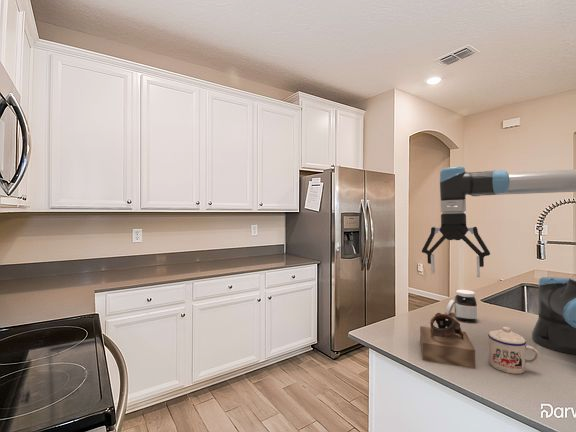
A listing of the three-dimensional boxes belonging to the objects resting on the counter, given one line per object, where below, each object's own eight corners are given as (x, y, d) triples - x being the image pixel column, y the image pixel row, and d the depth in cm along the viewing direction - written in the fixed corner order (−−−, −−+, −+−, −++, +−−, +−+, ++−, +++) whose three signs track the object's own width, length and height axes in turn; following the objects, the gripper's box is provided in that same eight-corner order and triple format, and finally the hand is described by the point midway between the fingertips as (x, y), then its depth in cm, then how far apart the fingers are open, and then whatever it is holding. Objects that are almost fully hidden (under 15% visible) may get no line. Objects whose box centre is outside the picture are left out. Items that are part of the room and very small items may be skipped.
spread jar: (479, 324, 120) (479, 295, 120) (448, 321, 124) (448, 293, 124) (470, 314, 132) (471, 288, 132) (442, 311, 135) (442, 286, 135)
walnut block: (465, 349, 100) (465, 331, 100) (475, 370, 87) (475, 350, 87) (420, 343, 105) (420, 326, 105) (422, 361, 92) (422, 342, 92)
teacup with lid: (488, 369, 86) (489, 329, 86) (486, 356, 94) (487, 319, 94) (542, 381, 80) (542, 338, 80) (535, 366, 88) (535, 327, 87)
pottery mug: (472, 344, 91) (464, 324, 89) (443, 356, 92) (434, 336, 90) (451, 320, 103) (443, 302, 101) (426, 331, 104) (417, 313, 102)
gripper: (412, 214, 105) (413, 273, 105) (498, 211, 91) (500, 280, 91) (416, 213, 111) (417, 269, 111) (497, 211, 97) (499, 275, 97)
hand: (454, 274), depth 101 cm, fingers open, 13 cm apart
